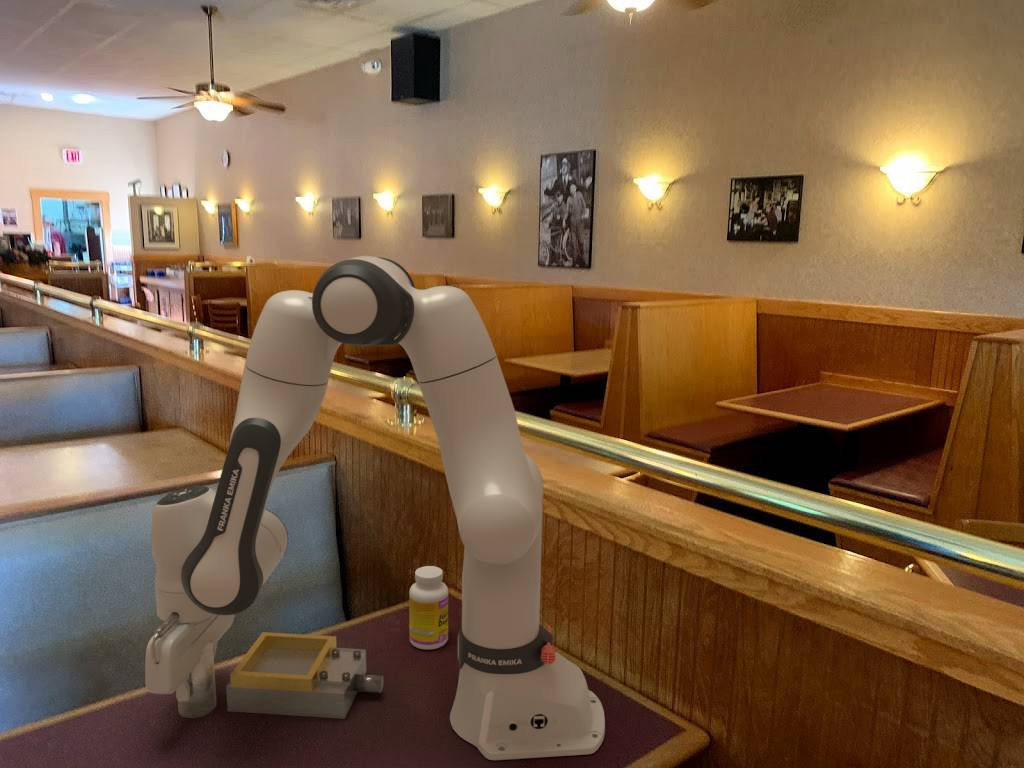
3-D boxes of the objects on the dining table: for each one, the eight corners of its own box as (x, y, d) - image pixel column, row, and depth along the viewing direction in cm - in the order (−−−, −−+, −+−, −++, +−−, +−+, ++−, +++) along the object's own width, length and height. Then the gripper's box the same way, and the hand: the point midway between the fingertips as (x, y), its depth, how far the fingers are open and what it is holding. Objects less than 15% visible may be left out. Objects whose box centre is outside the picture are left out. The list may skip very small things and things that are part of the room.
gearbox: (390, 673, 124) (390, 639, 123) (371, 720, 112) (371, 683, 111) (259, 665, 125) (258, 631, 124) (227, 711, 114) (225, 674, 112)
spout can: (222, 697, 117) (218, 633, 115) (206, 719, 112) (202, 652, 110) (175, 694, 117) (170, 630, 115) (157, 715, 112) (151, 649, 110)
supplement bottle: (441, 653, 130) (441, 582, 127) (404, 648, 131) (403, 578, 129) (452, 633, 136) (453, 565, 134) (416, 629, 138) (416, 561, 135)
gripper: (174, 636, 101) (182, 731, 103) (240, 568, 121) (245, 649, 123) (128, 633, 101) (136, 728, 104) (201, 566, 121) (206, 647, 124)
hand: (196, 684), depth 114 cm, fingers closed on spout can, 5 cm apart
